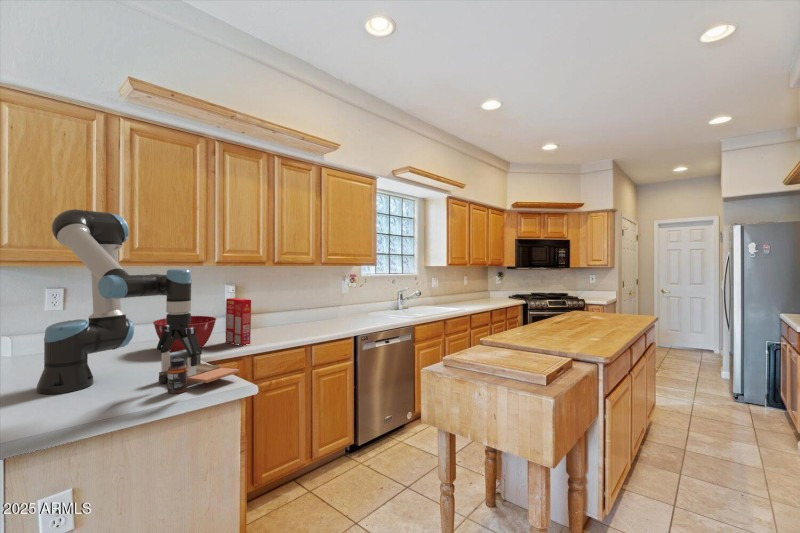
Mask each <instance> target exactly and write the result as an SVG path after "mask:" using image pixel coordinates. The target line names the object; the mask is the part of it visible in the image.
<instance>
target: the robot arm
mask: <svg viewBox="0 0 800 533" xmlns="http://www.w3.org/2000/svg"><path fill="white" fill-rule="evenodd" d="M129 230H130V228H129V225H128V222H127V221H126V220H125V218H123V216H120V215H119V214H115V213H111V212H103V211H94V210H84V209H76V208H75V209H68V210H65V211H63V212H60V213H59V214H57V215H56V217H55V218H54V219H53V221H52V224H51V232H52V235H53V236H54V238H55V239H56V240H57V242H58V243H59V244H60V245H62V246H64V247H68V248H69V250H70V251H71V252H72V253H73V254H74V255H75V256H76V257H77V258H78V259H79V260H80V261H81V262H82V264H84V266H85V267H86V268H87V269H88V270H89V271H90V273H91V274H90V275H91V289H92V290H91V291H92V292H91V294H92V308H93V309H92V313H91V314H90V315H89V316H88V320H87V319H83V318H82V319H73V320H64V321H60V322H56V323H53V324H51V325H49V326H47V327H46V328H45V331H44V338H43V342H44V343H43V344H44V347H43V348H44V349H43V351H44V353H43V354H44V356H43V357H44V358H43V360H44V361H43V363H44V364H43V370H42V372H41V375H40V377H39V380H38V382H37V385H36V392H37V394H43V395H55V394H56V395H57V394H64V393H71V392H75V391H79V390H80V391H81V390H83V389H86V388H88V387H91V386H92V385H94V375H93V373H92V371H91V368H90V366H89V363H88V359H89V358H88V357H89V356H88V355H90V354H94V353H95V354H96V353H100V352H106V351H109V350H110V351H111V350H117V349H120V348H124V347H126V346H128V345H129V344H130V342H131V341H132V339H133V338H134V334H135V326H134V323H133V321H132V320H131V319H130V318H129V317H127V314H126V313H125V312H124V311H122V306H121V299H126V298H127V299H128V298H129V299H130V298H136V297H137V298H139V297H155V296H165V297H166V302H165V304H166V307H165V309H166V310H165V312H166V316H165V318H166V324H167V325H166V326H163V329H162V334H161V337H160V339H159V340H158V343H157V345H156V350H157V351H159V353H160V360H161V366H160V367H161V369H160V370H161V371H160V372H163V371H167V370H168V368H169V367H170V353H171V351H170V350H169V349H170V347H171V346H172V344H173V342H174V341H175V339H177V340H180V341H181V342H182V343H183V345H184V347H185V349H186V350H187V352H188V354H189V356H188V376H192V375H196V365H197V356H198V355H202V354H203V351H202V347H201V348H200V345H199V342H198V339H197V336H196V331H195V327H193V328H189V327H188V324H189V323H191V316H192V314H191V313H190V312H192V282H193V281H192V273H191V272H192V271H191V270H189V269H177V268H176V269H167V271H166V274H157V273H151V274H129V273H128V272H127V271H126V270H125V269H124V268H123V267H122V266H121V265H120V264H119V252H118V251H119V250H120V249H122V247H123V244H124V243H126V241H127V240H128V237H129V234H130V231H129ZM197 351H198V352H197ZM192 352H193V353H192Z"/></svg>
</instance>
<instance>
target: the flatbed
mask: <svg viewBox="0 0 800 533" xmlns="http://www.w3.org/2000/svg"><path fill="white" fill-rule="evenodd" d="M197 352H198V351H197ZM192 353H193V352H192ZM201 355H202V354H201ZM201 355H198V356H197V365H196V375H198V374H202V373H205V372H208V371H212V370H215V369H219V368H222V367H221V366H219V365H212V364H207V363H201ZM188 356H189V354H188V352H187V350H182V351H177V352H170V366H171V360H173V359H179V358H182V359H184V364H185V365H187V378H188V377H191V376H188ZM192 376H195V375H192ZM158 383H159V384H161V385H164V384H168V370H167V371H163V372H162V371H160V372H158ZM199 383H200V382H196V381H188V380H187V387H190V386H192V384H193V385H195V384H199Z"/></svg>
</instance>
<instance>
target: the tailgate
mask: <svg viewBox="0 0 800 533" xmlns="http://www.w3.org/2000/svg"><path fill="white" fill-rule="evenodd" d="M240 372H241V369H237V368H229V367H228V368H227V367H221V368H219V369H215V370H212V371H208V372H205V373H202V374H198V375H195V376H191V377H188V378H187V380H188V381H196V382H199V383H203V384H204V383H206V384H208V383H210V382H214V381H216V380H219V379H222V378H226V377H228V376H231V375H235V374H237V373H240Z"/></svg>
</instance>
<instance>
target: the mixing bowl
mask: <svg viewBox="0 0 800 533" xmlns="http://www.w3.org/2000/svg"><path fill="white" fill-rule="evenodd" d="M216 322H217V317H214V316H208V315H191V323H189V324H188V327H189V328H193V327H195V331H196V336H197V339H198V342H199V345H200V348H201V349H202V348H203V347H204V346H205V345H206V344H207V343H208V341H209V339H210V337H211V335H212V333H213V331H214V328H215V325H216ZM152 323H153V326H154V329H155V331H156V334H157V338H158V339H159V340H160V337H161V334H162V329H163V326H166V325H167V324H166V317H165V318H160V319H157V320H154V321H153V322H152ZM169 350H170V351H169V352H170V353H173V352H177V351H182V350H186V349H185V347H184V345H183V343H182V342H181V341H180V340H177V339H175V341H174V342H173V344H172V346H171V347H170V349H169Z"/></svg>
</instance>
